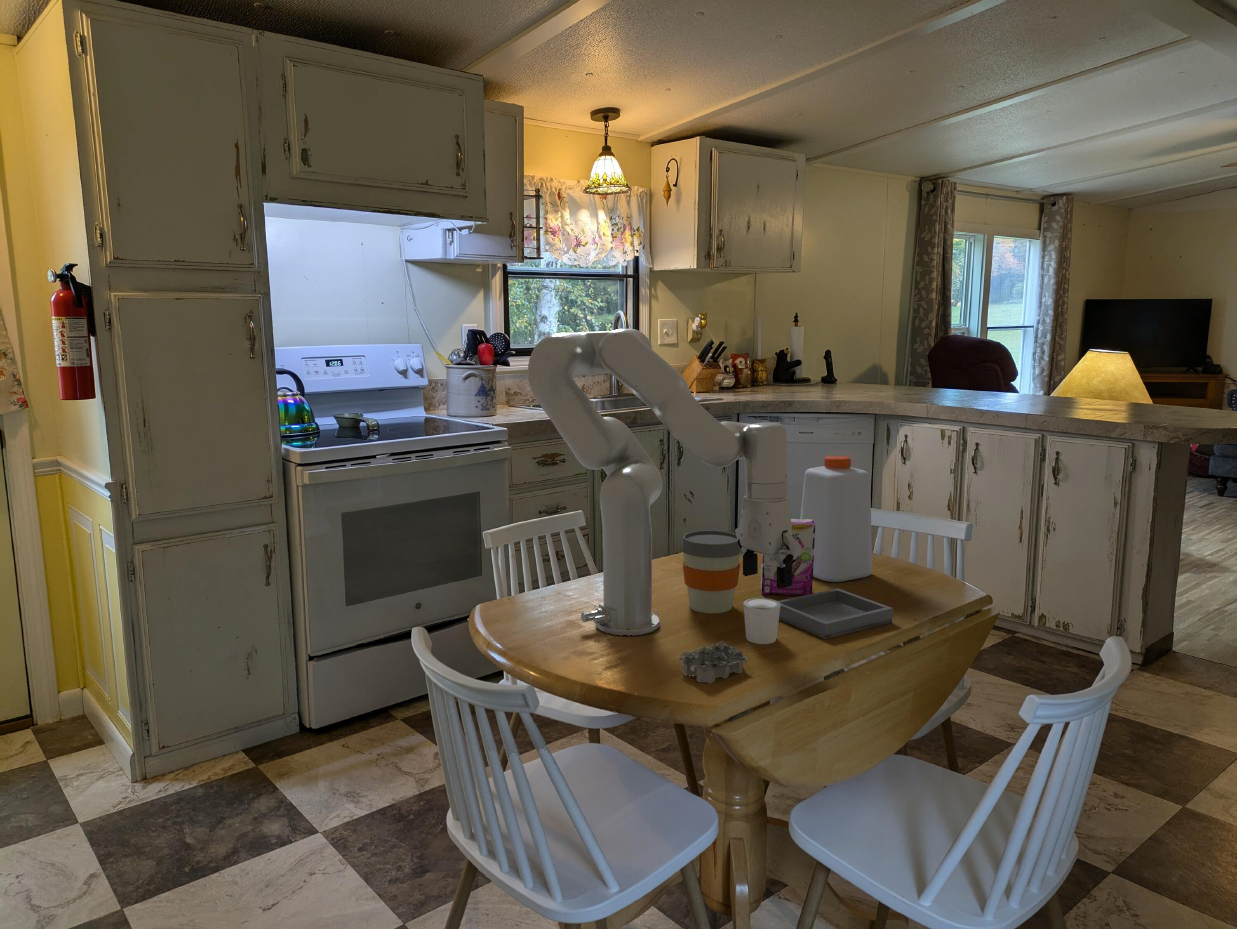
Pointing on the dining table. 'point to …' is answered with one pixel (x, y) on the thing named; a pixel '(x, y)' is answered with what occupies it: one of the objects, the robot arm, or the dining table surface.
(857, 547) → the plastic bottle
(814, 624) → the tray
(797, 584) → the candy bar box
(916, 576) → the dining table surface
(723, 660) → the egg carton
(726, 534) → the reusable coffee cup
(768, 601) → the white cup
